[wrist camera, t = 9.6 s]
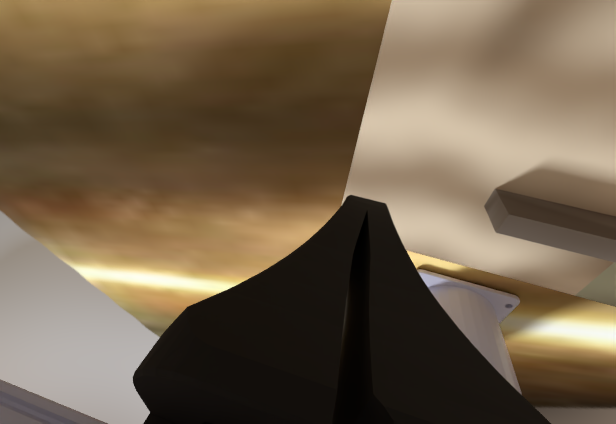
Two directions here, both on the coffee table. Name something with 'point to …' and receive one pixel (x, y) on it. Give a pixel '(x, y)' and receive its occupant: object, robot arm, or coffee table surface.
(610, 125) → the deck
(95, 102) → the coffee table surface
